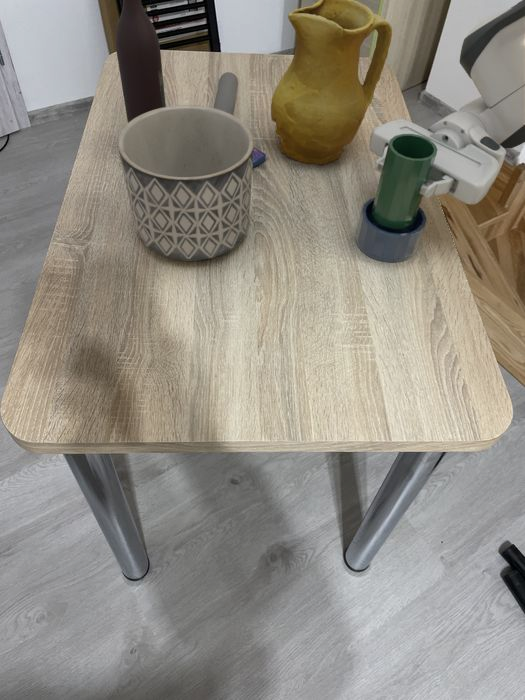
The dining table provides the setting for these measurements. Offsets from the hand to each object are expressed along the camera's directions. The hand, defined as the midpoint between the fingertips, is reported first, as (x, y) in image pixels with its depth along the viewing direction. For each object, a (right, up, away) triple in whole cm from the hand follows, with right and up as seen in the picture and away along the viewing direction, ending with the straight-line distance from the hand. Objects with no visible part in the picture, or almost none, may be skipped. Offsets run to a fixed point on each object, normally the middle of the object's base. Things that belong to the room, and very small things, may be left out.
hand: (401, 179), depth 80 cm
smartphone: (-27, +9, +21) cm, 36 cm away
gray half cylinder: (-29, +28, +36) cm, 54 cm away
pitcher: (-10, +15, +27) cm, 32 cm away
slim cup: (0, -4, +6) cm, 7 cm away
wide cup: (0, -7, +10) cm, 12 cm away
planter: (-32, -6, +10) cm, 34 cm away
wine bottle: (-42, +12, +23) cm, 49 cm away
